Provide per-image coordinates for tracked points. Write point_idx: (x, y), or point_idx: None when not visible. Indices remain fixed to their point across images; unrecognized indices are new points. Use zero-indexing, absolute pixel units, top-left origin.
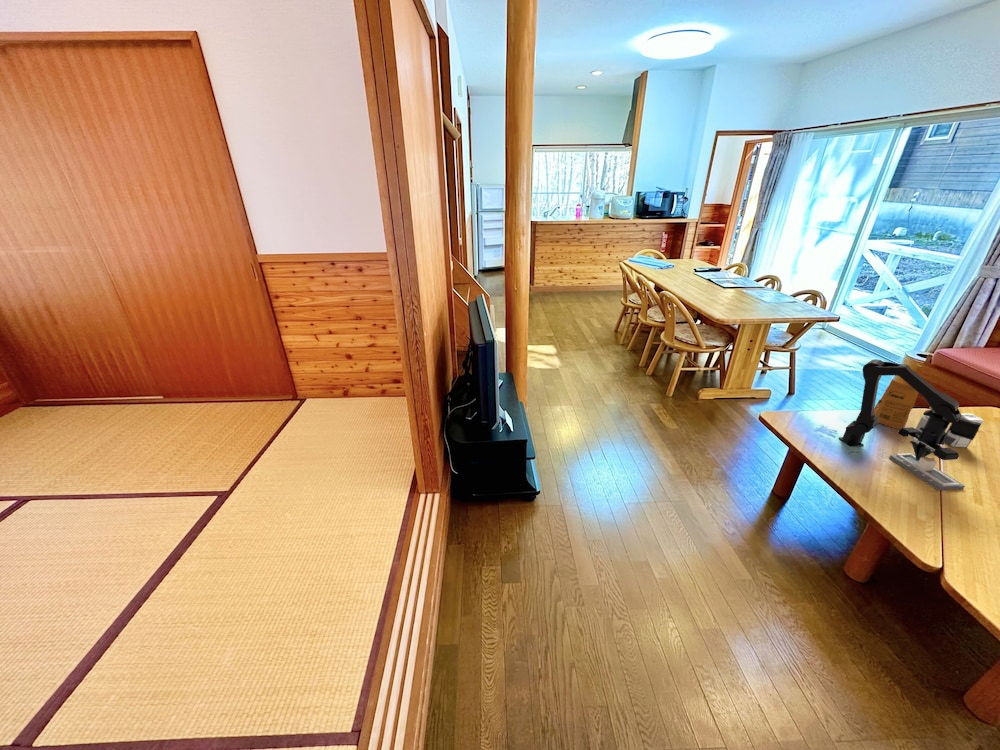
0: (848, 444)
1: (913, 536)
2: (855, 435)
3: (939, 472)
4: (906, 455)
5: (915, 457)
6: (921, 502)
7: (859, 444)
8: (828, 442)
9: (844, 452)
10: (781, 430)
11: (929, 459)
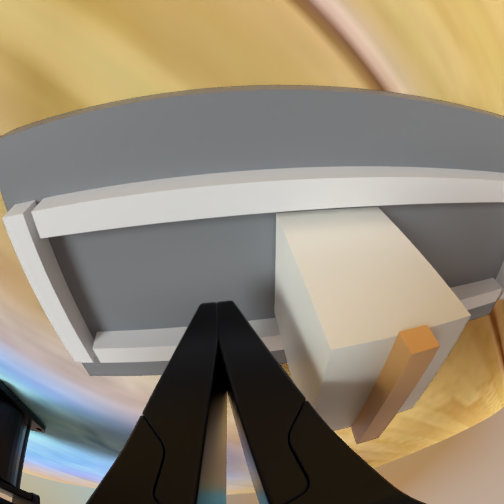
0: (38, 431)
1: (474, 419)
2: (16, 476)
3: (447, 200)
4: (58, 278)
5: (97, 230)
6: (458, 384)
7: (8, 401)
8: (50, 451)
9: (114, 455)
10: (41, 476)
11: (397, 398)
